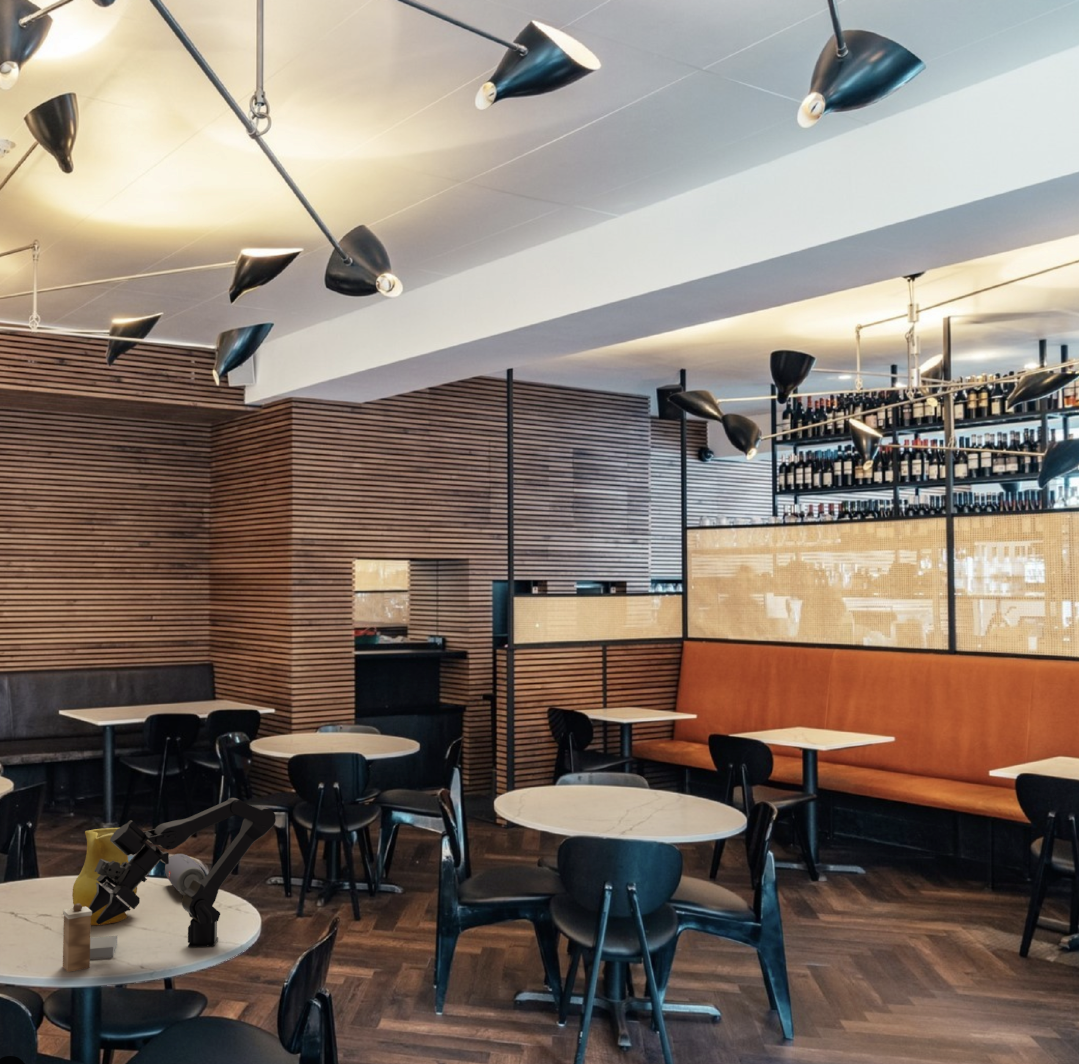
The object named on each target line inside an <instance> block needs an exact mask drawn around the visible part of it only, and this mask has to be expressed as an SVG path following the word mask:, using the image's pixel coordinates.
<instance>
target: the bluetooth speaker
mask: <svg viewBox="0 0 1079 1064" xmlns="http://www.w3.org/2000/svg"><path fill="white" fill-rule="evenodd" d="M168 858H169V864H165V865H164V872H165V876H166V878H167V879H168V881H169V882H170V884H171V885H172V887H173V888H175V889H176V891H177V892H178V891H179V892H178V893H179V894H180V895H181V896H182V897H183V896H184V895H185V894H184V893H183V892H184V891H186V890H187V889H188V888H189V886H190V884H191V883H192V881H193V880H196V881H198V882H199V881H201V880H202V879H204V878H205V877H206V874H205V872H204V870H203V869H202V868H201V866H200V865H199V863H197V862H196V861H195V860H194V859H193V858H192V857H191V856H189V855H187V854H184V853H176V854H172V855H171V856H170V857H168Z"/></svg>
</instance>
